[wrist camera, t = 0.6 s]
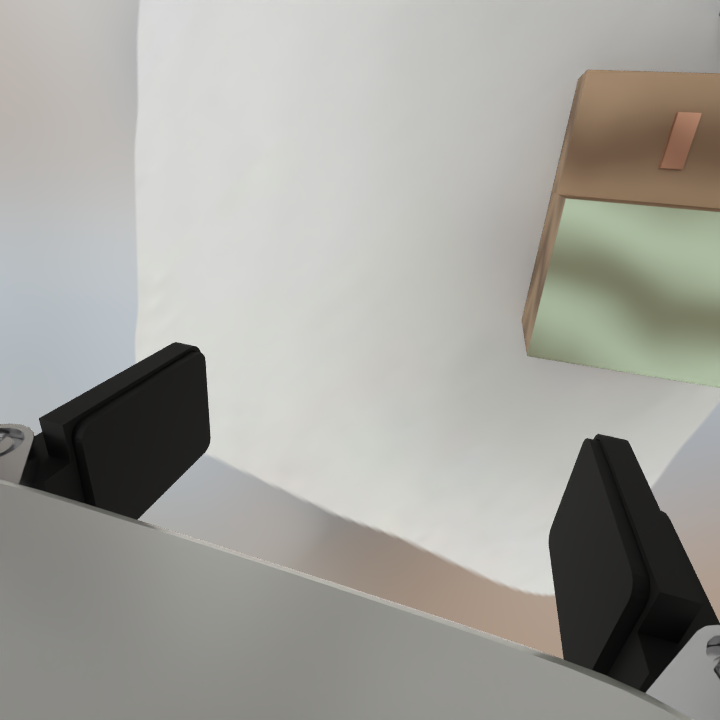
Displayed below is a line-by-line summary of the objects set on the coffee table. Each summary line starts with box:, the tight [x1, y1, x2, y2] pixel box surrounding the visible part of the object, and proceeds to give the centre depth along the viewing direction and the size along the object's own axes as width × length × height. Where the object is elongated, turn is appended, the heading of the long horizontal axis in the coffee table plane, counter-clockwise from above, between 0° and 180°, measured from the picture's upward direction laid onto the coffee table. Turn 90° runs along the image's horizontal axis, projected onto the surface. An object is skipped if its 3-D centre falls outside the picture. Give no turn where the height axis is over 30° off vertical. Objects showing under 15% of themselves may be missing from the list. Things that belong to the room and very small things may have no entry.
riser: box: [522, 70, 720, 388], centre depth 28 cm, size 17×12×8 cm
